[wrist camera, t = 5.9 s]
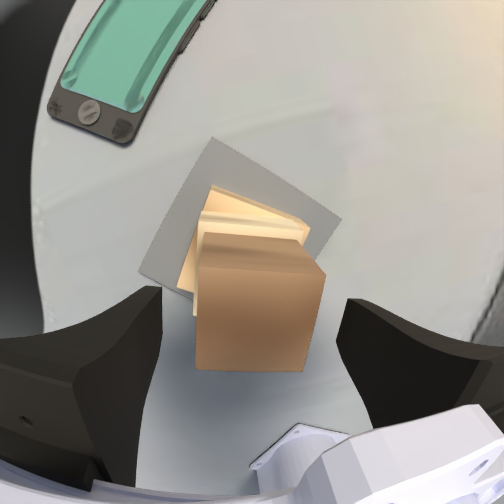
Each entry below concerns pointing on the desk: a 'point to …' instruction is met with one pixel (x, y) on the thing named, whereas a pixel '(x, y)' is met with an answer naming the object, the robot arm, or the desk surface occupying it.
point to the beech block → (241, 232)
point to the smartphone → (123, 63)
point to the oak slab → (237, 205)
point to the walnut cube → (255, 303)
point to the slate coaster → (239, 182)
